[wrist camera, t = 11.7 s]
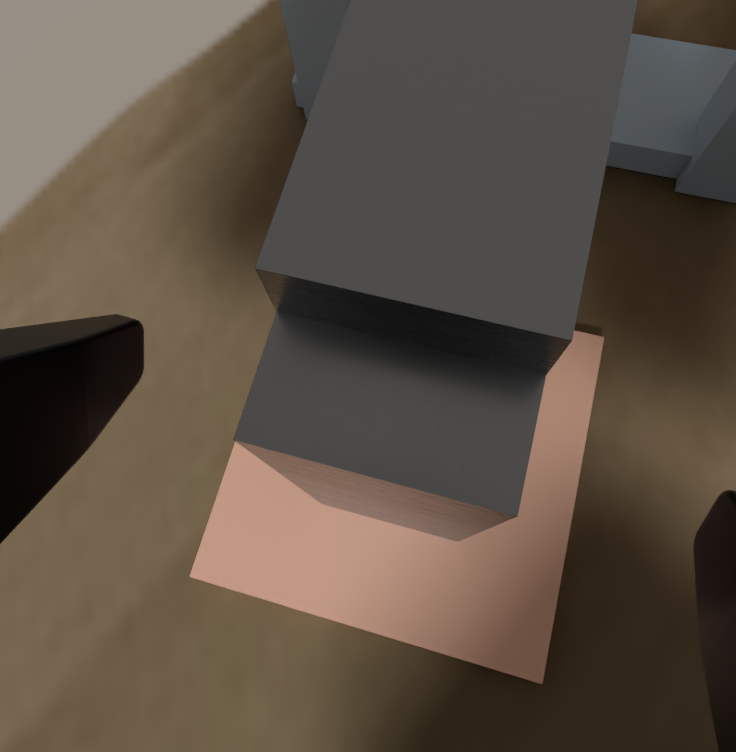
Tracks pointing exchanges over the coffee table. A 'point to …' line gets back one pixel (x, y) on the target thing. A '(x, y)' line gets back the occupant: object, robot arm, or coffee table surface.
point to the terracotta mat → (417, 547)
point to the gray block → (434, 253)
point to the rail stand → (635, 106)
